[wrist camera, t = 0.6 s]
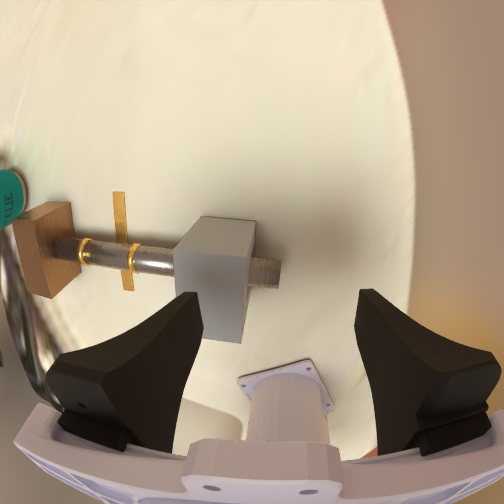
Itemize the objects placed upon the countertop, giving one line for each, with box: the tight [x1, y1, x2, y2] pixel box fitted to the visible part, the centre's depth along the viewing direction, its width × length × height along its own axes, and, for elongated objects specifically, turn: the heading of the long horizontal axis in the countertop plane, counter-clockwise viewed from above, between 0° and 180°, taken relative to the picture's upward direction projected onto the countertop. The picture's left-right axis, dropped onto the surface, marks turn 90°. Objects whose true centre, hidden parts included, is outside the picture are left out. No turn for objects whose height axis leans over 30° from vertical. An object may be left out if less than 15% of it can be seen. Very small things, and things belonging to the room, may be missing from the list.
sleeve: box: [173, 217, 256, 343], centre depth 19 cm, size 4×6×6 cm, turn 176°
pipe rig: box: [12, 192, 281, 299], centre depth 20 cm, size 22×9×5 cm, turn 86°
